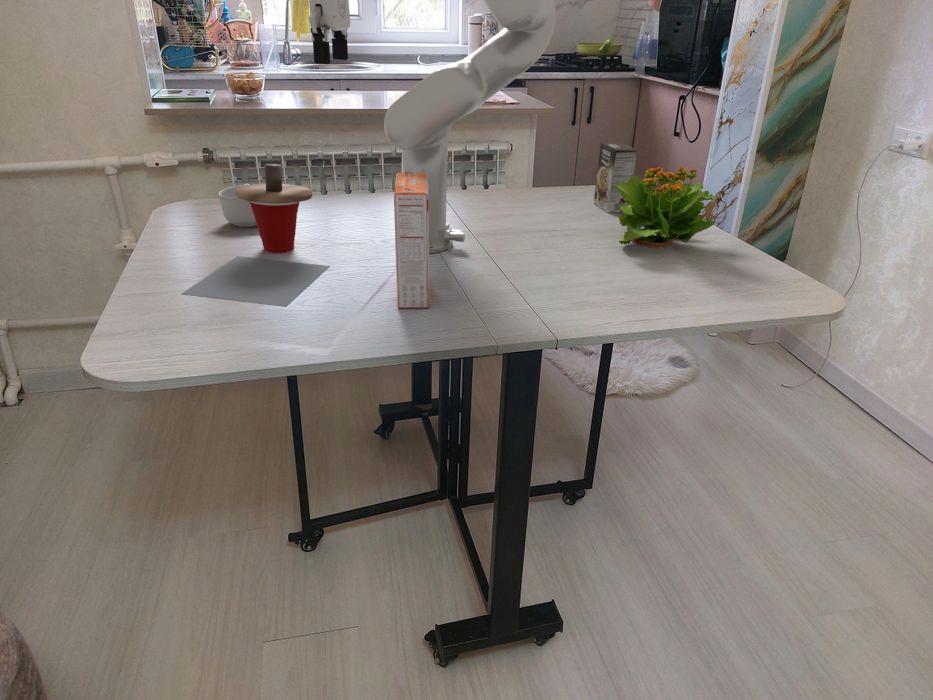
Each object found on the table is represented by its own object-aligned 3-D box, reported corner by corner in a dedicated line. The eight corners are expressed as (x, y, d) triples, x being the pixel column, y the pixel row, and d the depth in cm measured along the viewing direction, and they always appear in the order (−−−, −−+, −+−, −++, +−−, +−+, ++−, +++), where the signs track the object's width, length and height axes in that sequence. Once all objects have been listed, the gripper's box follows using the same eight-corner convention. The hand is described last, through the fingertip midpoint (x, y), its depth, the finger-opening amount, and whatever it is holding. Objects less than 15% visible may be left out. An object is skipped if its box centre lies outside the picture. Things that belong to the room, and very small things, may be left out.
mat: (330, 269, 134) (330, 266, 134) (286, 310, 117) (286, 306, 116) (237, 259, 137) (237, 256, 137) (182, 297, 120) (181, 293, 120)
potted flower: (583, 226, 164) (592, 153, 156) (670, 221, 170) (683, 151, 162) (630, 262, 143) (642, 180, 135) (727, 256, 149) (745, 176, 140)
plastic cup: (316, 248, 145) (312, 193, 139) (284, 264, 136) (278, 205, 130) (276, 240, 149) (270, 185, 143) (242, 254, 140) (234, 197, 134)
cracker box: (397, 279, 131) (395, 171, 121) (428, 279, 131) (429, 171, 121) (395, 309, 118) (392, 191, 109) (429, 309, 119) (429, 192, 109)
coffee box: (592, 203, 183) (599, 142, 175) (614, 202, 184) (622, 141, 177) (606, 212, 175) (614, 149, 168) (628, 212, 177) (638, 149, 169)
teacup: (263, 231, 154) (259, 196, 150) (216, 229, 154) (210, 195, 150) (279, 213, 166) (276, 181, 162) (235, 212, 166) (231, 179, 162)
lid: (323, 192, 142) (322, 163, 140) (293, 206, 129) (292, 174, 126) (257, 185, 145) (255, 157, 142) (221, 198, 131) (218, 166, 129)
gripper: (327, -37, 121) (333, 66, 129) (360, -33, 136) (363, 59, 144) (288, -38, 122) (296, 64, 130) (324, -34, 137) (330, 57, 145)
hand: (331, 61), depth 137 cm, fingers open, 9 cm apart
